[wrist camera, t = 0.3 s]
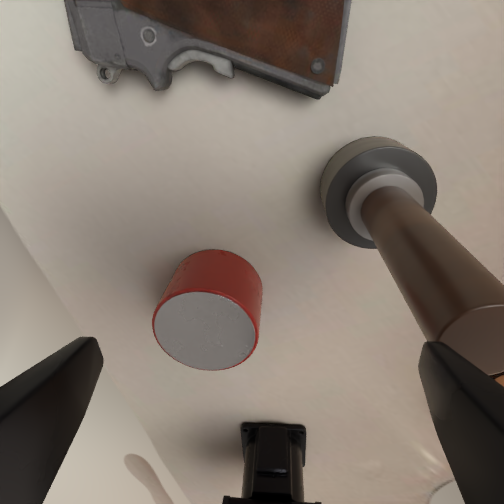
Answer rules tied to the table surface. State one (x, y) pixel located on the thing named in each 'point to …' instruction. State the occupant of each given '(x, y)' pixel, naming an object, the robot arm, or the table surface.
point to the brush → (415, 246)
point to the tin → (210, 311)
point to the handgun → (215, 38)
